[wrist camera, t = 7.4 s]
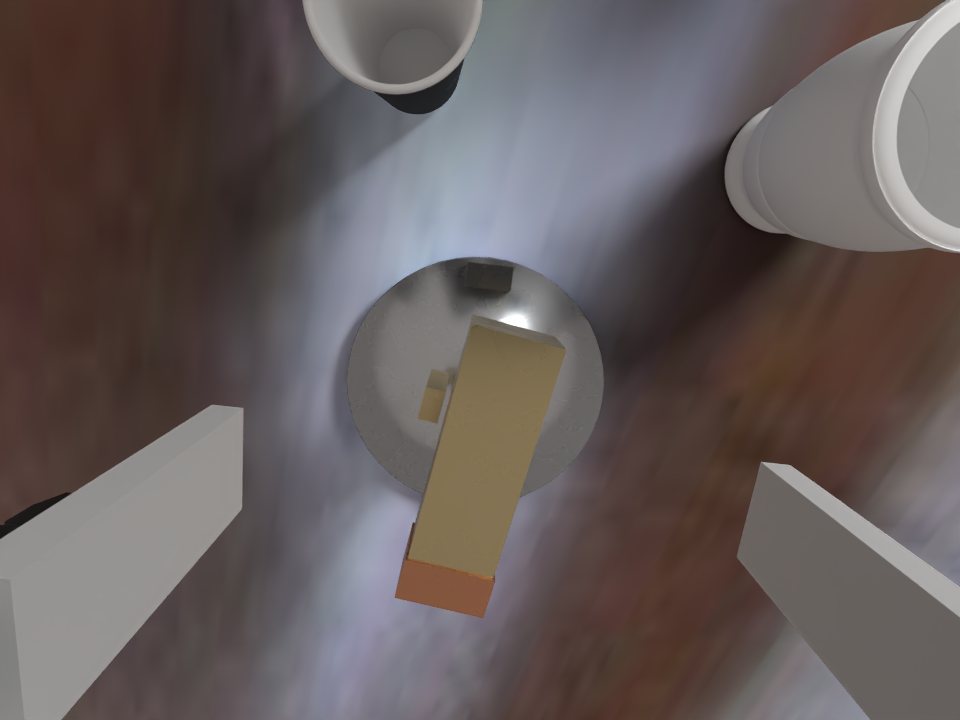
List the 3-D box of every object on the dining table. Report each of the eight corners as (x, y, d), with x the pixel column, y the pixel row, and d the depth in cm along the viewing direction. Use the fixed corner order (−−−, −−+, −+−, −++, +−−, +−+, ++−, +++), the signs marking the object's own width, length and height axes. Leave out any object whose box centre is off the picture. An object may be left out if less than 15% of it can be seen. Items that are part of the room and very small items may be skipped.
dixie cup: (499, 107, 34) (511, 46, 23) (389, 159, 35) (351, 122, 24) (448, -20, 32) (436, -150, 22) (334, 36, 33) (267, -62, 22)
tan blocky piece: (404, 471, 36) (369, 591, 24) (453, 287, 33) (441, 315, 21) (496, 494, 36) (508, 623, 24) (551, 315, 34) (597, 358, 21)
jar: (885, 99, 34) (1193, -5, 20) (838, 259, 36) (1083, 271, 22) (727, 73, 34) (923, -55, 19) (690, 236, 36) (839, 233, 21)
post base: (359, 242, 36) (325, 242, 27) (618, 272, 36) (661, 282, 28) (345, 482, 40) (311, 546, 31) (577, 506, 40) (605, 574, 32)
